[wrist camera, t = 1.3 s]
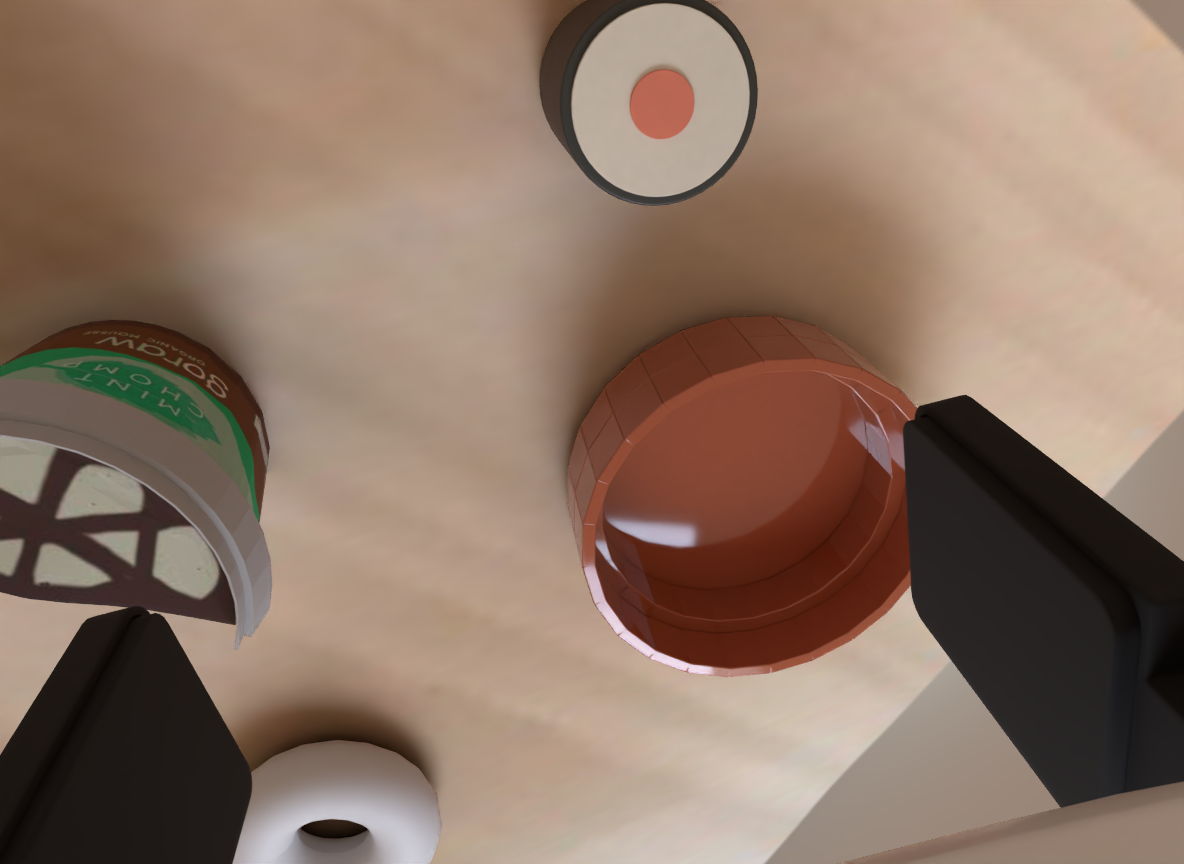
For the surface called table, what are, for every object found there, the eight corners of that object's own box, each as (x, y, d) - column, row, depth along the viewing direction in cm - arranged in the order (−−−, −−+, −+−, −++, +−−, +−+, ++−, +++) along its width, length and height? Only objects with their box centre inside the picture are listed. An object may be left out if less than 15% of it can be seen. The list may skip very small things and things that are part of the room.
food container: (340, 341, 32) (299, 476, 23) (305, 482, 34) (256, 653, 25) (-40, 240, 28) (-261, 353, 19) (-50, 404, 31) (-251, 572, 22)
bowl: (525, 369, 33) (537, 426, 29) (871, 268, 33) (935, 309, 29) (609, 636, 40) (629, 715, 35) (898, 550, 40) (953, 618, 36)
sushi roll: (518, 17, 28) (536, 23, 22) (685, -30, 28) (744, -36, 22) (563, 188, 30) (589, 231, 25) (715, 144, 30) (774, 177, 25)
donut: (464, 836, 45) (408, 701, 40) (466, 898, 42) (406, 761, 37) (274, 886, 44) (193, 755, 39) (261, 952, 41) (173, 821, 36)
